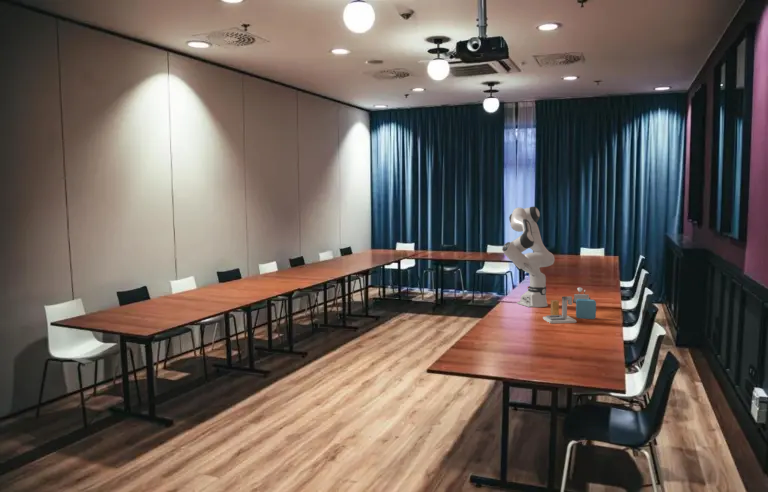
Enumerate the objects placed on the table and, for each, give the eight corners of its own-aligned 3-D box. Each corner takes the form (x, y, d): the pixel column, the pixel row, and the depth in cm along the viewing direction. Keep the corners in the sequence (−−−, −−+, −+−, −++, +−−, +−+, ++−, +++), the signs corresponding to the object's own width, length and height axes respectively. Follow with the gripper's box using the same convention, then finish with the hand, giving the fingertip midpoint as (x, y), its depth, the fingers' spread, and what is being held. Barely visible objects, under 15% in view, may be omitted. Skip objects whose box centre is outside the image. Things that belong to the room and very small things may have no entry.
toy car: (574, 286, 427) (590, 287, 423) (574, 299, 428) (590, 300, 424) (573, 290, 411) (589, 291, 406) (572, 303, 412) (589, 304, 407)
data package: (595, 317, 363) (595, 299, 362) (595, 319, 359) (596, 300, 358) (575, 316, 367) (576, 298, 366) (576, 318, 363) (576, 300, 361)
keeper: (549, 323, 349) (550, 299, 348) (542, 318, 362) (543, 295, 361) (576, 322, 350) (576, 298, 349) (568, 318, 363) (568, 294, 362)
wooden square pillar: (552, 316, 370) (552, 301, 369) (550, 314, 374) (550, 300, 373) (558, 316, 370) (558, 301, 369) (556, 314, 374) (556, 300, 373)
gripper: (530, 260, 357) (545, 275, 358) (521, 257, 377) (535, 271, 379) (523, 267, 357) (538, 282, 358) (514, 264, 377) (528, 278, 379)
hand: (536, 276), depth 369 cm, fingers open, 8 cm apart
